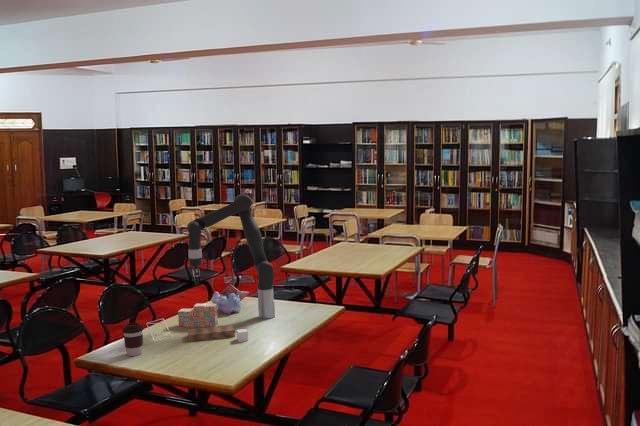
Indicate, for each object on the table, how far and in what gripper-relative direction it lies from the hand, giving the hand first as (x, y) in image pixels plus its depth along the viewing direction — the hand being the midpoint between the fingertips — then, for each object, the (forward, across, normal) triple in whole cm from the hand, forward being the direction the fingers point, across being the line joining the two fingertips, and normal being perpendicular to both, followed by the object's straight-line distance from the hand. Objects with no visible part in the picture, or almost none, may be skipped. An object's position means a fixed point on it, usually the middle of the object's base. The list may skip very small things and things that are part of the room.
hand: (196, 284), depth 327 cm
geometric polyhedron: (+24, -15, +22) cm, 36 cm away
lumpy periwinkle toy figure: (+24, +26, -21) cm, 41 cm away
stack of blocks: (+24, 0, 0) cm, 24 cm away
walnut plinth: (+24, -23, -5) cm, 34 cm away
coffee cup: (+24, -37, +34) cm, 56 cm away
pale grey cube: (+24, -35, -20) cm, 47 cm away
